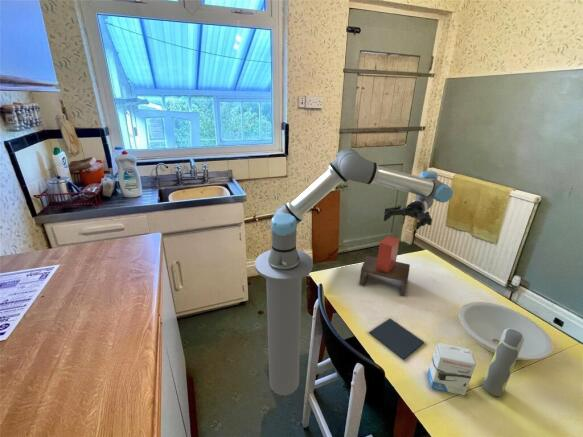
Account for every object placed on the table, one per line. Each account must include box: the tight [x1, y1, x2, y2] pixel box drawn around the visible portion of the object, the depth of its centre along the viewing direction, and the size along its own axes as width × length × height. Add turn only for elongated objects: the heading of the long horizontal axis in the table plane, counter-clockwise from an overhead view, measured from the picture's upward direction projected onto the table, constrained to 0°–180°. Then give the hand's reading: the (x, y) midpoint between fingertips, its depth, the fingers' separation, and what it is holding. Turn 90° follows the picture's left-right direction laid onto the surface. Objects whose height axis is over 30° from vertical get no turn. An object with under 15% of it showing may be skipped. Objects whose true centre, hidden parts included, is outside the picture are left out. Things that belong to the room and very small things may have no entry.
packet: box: [376, 235, 401, 273], centre depth 116 cm, size 5×8×12 cm, turn 141°
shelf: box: [358, 255, 411, 297], centre depth 120 cm, size 18×12×8 cm, turn 66°
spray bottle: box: [481, 328, 524, 397], centre depth 73 cm, size 5×5×20 cm
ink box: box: [427, 342, 477, 396], centre depth 76 cm, size 8×5×12 cm, turn 76°
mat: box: [369, 318, 425, 361], centre depth 93 cm, size 13×11×1 cm
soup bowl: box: [458, 301, 554, 361], centre depth 91 cm, size 24×24×7 cm
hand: (400, 222), depth 119 cm, fingers open, 13 cm apart
